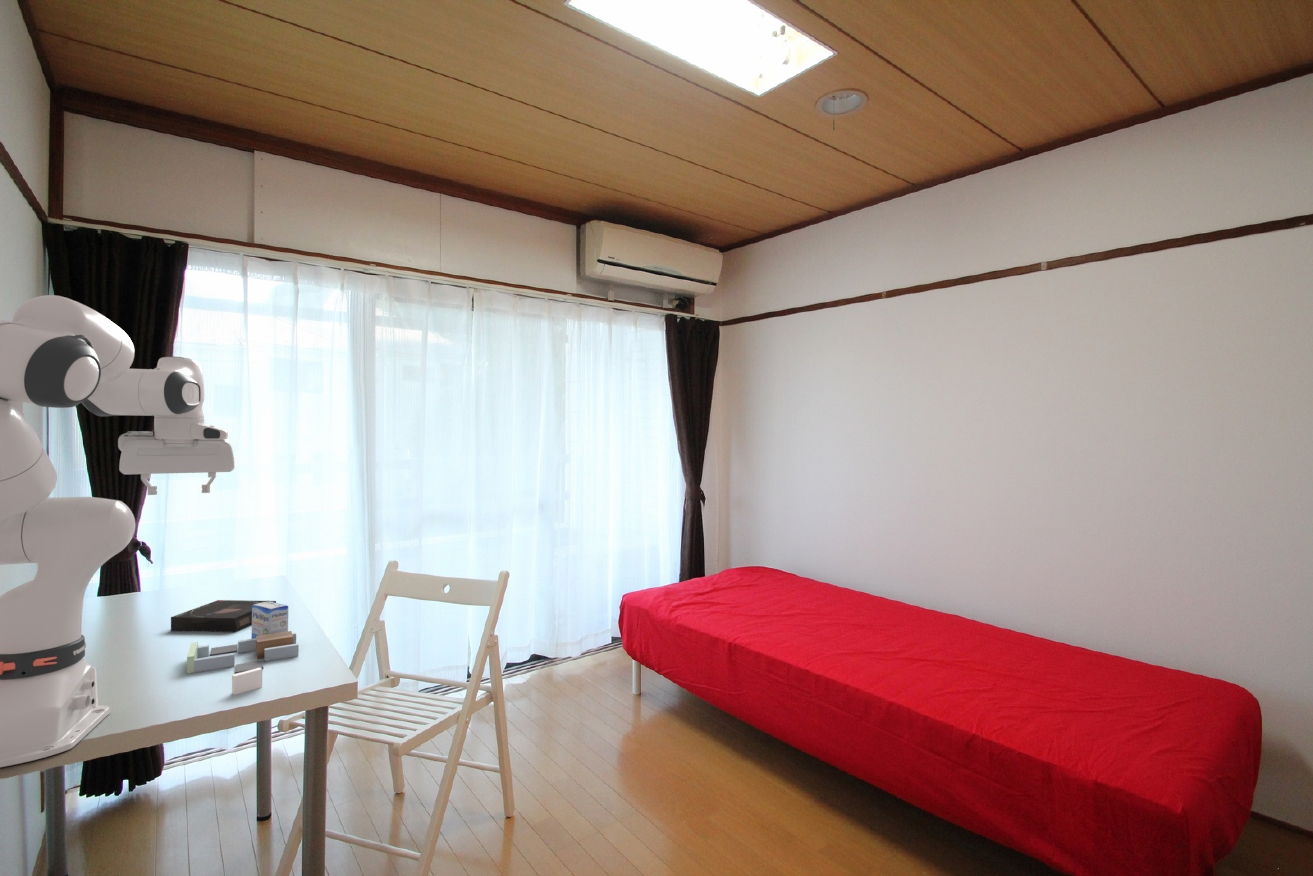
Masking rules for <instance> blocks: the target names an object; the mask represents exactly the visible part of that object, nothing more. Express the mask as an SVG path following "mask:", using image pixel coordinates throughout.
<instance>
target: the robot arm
mask: <svg viewBox="0 0 1313 876" xmlns="http://www.w3.org/2000/svg"><path fill="white" fill-rule="evenodd" d="M12 317H13V318H12V321H9V320H3V319H0V565H2V566H3V565H18V564H19V565H20V564H22V565H23V564H37V571H36V573H35V576H34V577H33V579H32V580H30V581H27V582H25V583H22V584H19V585H18V586H15V587H13V588H12V589H10V590H8V591H6V592H5V593H3V594H2V595H0V768H4V767H9V766H15V765H19V764H23V763H28V762H32V761H36V760H39V759H43V758H48V757H50V756H53V755H58V754H60V753H64V752H65V751H69V750H71V749H73V748H74V747H75V746H76V745H77V744H78V743H80V741H82V740H83V739H84V737H86V736H87V735H88V734H89V733H90V732H91V731H93V729H95V727H97V726H98V724H100V723H101V722H102V721H103V720H104V719H105V718H106V717H107V716H108V715H109V714H110V713H111V709H110V708H111V707H110V706H109V705H99V701H98V681H97V680H98V679H97V678H98V677H97V668H96V667H94V666H93V665H91V664H89V663H88V662H87V661H86V660H85V659H84V657H85V655H86V647H87V644H86V640H85V636H84V635H83V634H82V629H83V628H82V627H83V626H82V624H83V609H84V600H85V594H86V591H87V589H88V586H89V584H90V582H91V580H92V578H93V577H94V575H95V574H96V573H97V572H98V570H99V569H100V568H101V567H102V566H103V565H104V564H106V562H108V561H109V560H110V559H111V558H113V557H115V555H118V554H119V553H120V552H122V551H123V550H124V549H125V548H126V547H127V546H128V545H129V544H130V542H131V541H132V539H133V538H134V535H135V532H136V518H135V516H134V513H133V512H132V510H131V508H130V507H129V506H128V505H127V504H126V503H124V502H123V501H122V500H118V499H111V498H104V497H94V496H63V497H59V496H58V497H49V496H50V495H51V494H52V493H53V491H54V490H55V488H56V484H57V480H58V476H57V475H58V474H57V471H56V469H55V467H54V464H53V462H52V461H51V459H50V457H49V455H48V453H47V451H46V449H45V448H44V446H43V444H42V442H41V440H40V438H39V437H38V435H37V433H36V431H35V430H34V428H33V427H32V426H31V424H30V423H29V422H28V420H27V419H26V418H25V415H24V407H23V406H24V403H28V404H35V405H36V406H39V407H44V408H54V409H55V408H56V409H57V408H60V409H62V408H63V409H66V408H67V409H68V408H73V407H76V406H78V405H79V404H82V405H83V406H84V407H85V408H86V410H88V411H89V412H90V413H92V414H93V415H95V416H97V417H117V416H142V417H143V416H147V417H149V416H150V417H151V416H153V417H154V419H153V420H154V421H153V427H154V428H153V430H148V431H147V430H145V431H143V430H142V431H135V430H131V431H127V432H125V433H122V434H120V435H119V437H118V439H117V448H118V450H119V451H120V452H121V453H120V458H119V464H118V466H119V468H118V470H119V472H120V473H121V474H123V475H140V480H141V482H142V483H143V484H144V485H145V487H147V496H154V495H158V491H157V489H158V486H157V485H156V486H155V485H152V483H151V482H150V481H149V479H151V475H152V474H153V475H154V474H156V475H157V474H196V473H197V474H198V473H199V474H201V473H202V474H203V473H207V478H210V479H209V480H208V482H206V484H201V494H210V493H211V485H212V484H213V482H214V480H215V479H216V477H217V473H231V472H232V471H234V469H235V457H234V450H233V447H232V445H231V443H230V442H229V441H227V440H226V439H228V437H229V433H228V431H227V430H226V429H223V428H219V427H215V426H213V425H207V424H206V423H205V414H204V412H203V404H204V401H205V384H204V383H205V381H204V376H203V369H202V366H201V364H200V362H198V361H196V360H195V359H192V358H188V357H182V356H164V357H160V358H159V359H158V361H157V365H156V367H154V368H153V369H152V368H149V369H147V368H130V367H131V366H132V364H133V362H134V359H135V346H134V343H133V342H132V340H131V337H129V335H128V334H127V333H126V332H125V330H123V329H122V328H121V327H120V326H118V325H117V324H116V323H114V322H113V321H111V319H109V318H107V317H106V316H105V315H103V314H102V313H100V312H98V311H97V310H95V309H93V308H91V307H89V306H87V305H86V304H83V303H81V302H79V301H76V300H73V299H71V298H68V297H64V296H61V295H54V294H49V295H48V294H45V295H39V296H35V297H33V298H29V299H28V300H26V301H24V302H23V303H22V304H20V305H19V307H18V308H17V309H16V310H15V312H14V314H13V316H12Z"/></svg>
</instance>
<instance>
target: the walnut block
mask: <svg viewBox="0 0 1313 876" xmlns="http://www.w3.org/2000/svg"><path fill="white" fill-rule="evenodd" d="M292 633H293V632H292V631H291V630H288V631H287V632H280V633H274V634H267V635H261V636H256V650H255V655H256V657H255V658H256V660H261V659H264V652H265V648H271V647H278V646H284V645H291V644H293V634H292Z"/></svg>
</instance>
